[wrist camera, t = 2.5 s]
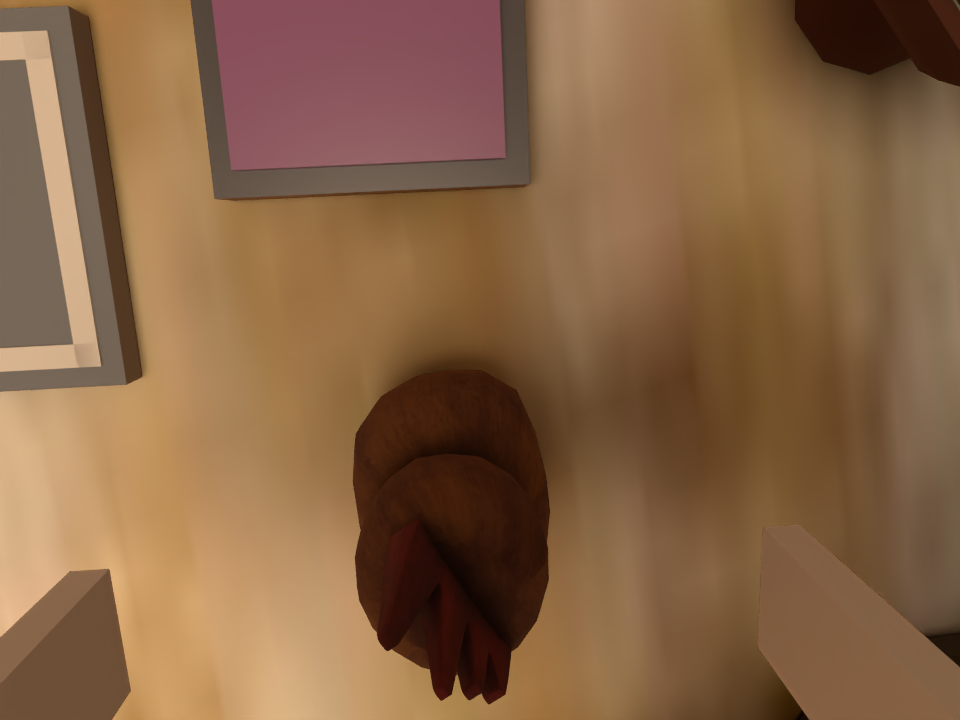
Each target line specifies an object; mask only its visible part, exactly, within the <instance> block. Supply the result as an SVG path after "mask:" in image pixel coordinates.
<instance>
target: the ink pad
mask: <svg viewBox="0 0 960 720" xmlns="http://www.w3.org/2000/svg"><path fill="white" fill-rule="evenodd" d="M191 8H192V16H193V24H194V32H195V41H196V49H197V57H198V65H199V73H200V82H201V90H202V98H203V106H204V115H205V123H206V131H207V139H208V148H209V156H210V164H211V172H212V181H213V189H214V197H215V199H222V200H233V201H238V200H259V199H280V198H301V197H323V196H344V195H365V194H386V193H407V192H429V191H450V190H471V189H492V188H513V187H525V186H527V185H529V184H530V161H529V130H528V99H527V67H526V36H525V4H524V0H191Z"/></svg>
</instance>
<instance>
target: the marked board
mask: <svg viewBox="0 0 960 720" xmlns="http://www.w3.org/2000/svg"><path fill="white" fill-rule="evenodd" d="M141 377H142V373H141V366H140V360H139V353H138V346H137V340H136V333H135V326H134V320H133V313H132V306H131V299H130V293H129V286H128V279H127V273H126V266H125V259H124V253H123V246H122V239H121V233H120V226H119V219H118V213H117V206H116V199H115V193H114V186H113V179H112V172H111V166H110V159H109V152H108V146H107V139H106V132H105V126H104V119H103V112H102V106H101V99H100V92H99V86H98V79H97V72H96V65H95V59H94V52H93V45H92V39H91V32H90V25H89V19H88V17H87V16H85V15H83V14H81V13H80V12H78V11H76V10H74V9H73V8H71V7H69V6H56V7H30V8H5V9H0V392H1V391H19V390H37V389H56V388H74V387H92V386H111V385H127V384H129V383H131V382H133V381H135V380H137V379H139V378H141Z"/></svg>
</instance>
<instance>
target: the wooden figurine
mask: <svg viewBox="0 0 960 720" xmlns="http://www.w3.org/2000/svg"><path fill="white" fill-rule="evenodd" d="M353 486H354V492H355V498H356V505H357V511H358V518H359V524H360V529H361V532H360V536H359V540H358V544H357V550H356V555H355V564H356V578H357V589H358V595H359V601H360V603H361V605H362V607H363V609H364V611H365V613H366V615H367V617H368V619H369V621H370V623H371V625H372V627H373V629H374V630H375V631H376V632H377V637H378V640H379V642H380V644H381V645H382V646H383V647H384V649H385V650H386V651H389V650H391V649H392V650H393V651H395V652H397V653H398V654H400V655H402V656H404V657H405V658H407V659H409V660H410V661H412V662H414V663H415V664H417V665H419V666H420V667H423V668H427V669H430V673H431V679H432V686H433V690H434V692H435V694H436V695H437V697H438V698H439V699H440V700H441V701H442V700H444V699H445V698H447V697H448V696H450V695H452V691H453V686H454V681H455V676H456V675H458V677H459V681H460V685H461V689H462V692H463V694H464V695H465V697H466V698H467V699H468V700H471V699H473V698H474V697H476V696H477V695H479V694H481V693H482V696H483V698H484V699H485V701H486V702H487V703H488V704H491V703H492V702H494V701H496V700H497V699H499V698H501V697H502V696H504V695H505V694H506V689H507V683H508V677H509V668H510V659H511V652H512V651H513V650H515V649H516V648H517V647H518V646H519V645H520V644H521V642H522V641H523V639H524V638H525V637H526V635H527V634H528V632H529V631H530V629H531V628H532V627H533V625H534V624H535V622H536V621H537V618H538V615H539V612H540V609H541V605H542V602H543V598H544V595H545V591H546V587H547V584H548V580H549V574H548V547H547V537H548V526H549V516H550V508H549V499H548V490H547V481H546V474H545V470H544V465H543V461H542V457H541V454H540V450H539V446H538V442H537V438H536V434H535V431H534V429H533V426H532V424H531V422H530V419H529V417H528V415H527V413H526V410H525V408H524V406H523V404H522V401H521V399H520V397H519V395H518V393H517V390H515V389H514V388H512V387H510V386H508V385H506V384H505V383H503V382H501V381H499V380H498V379H496V378H494V377H492V376H490V375H489V374H487V373H485V372H483V371H481V370H445V371H440V372H435V373H430V374H425V375H420V376H416V377H414V378H412V379H411V380H409V381H407V382H405V383H404V384H402V385H400V386H398V387H396V388H395V389H393V390H391V391H389V392H388V393H386V394H384V395H383V396H381V397H380V399H379V400H378V402H377V403H376V404H375V406H374V407H373V409H372V410H371V412H370V413H369V415H368V416H367V417H366V419H365V420H364V422H363V423H362V425H361V426H360V428H359V430H358V431H357V433H356V438H355V449H354V469H353Z"/></svg>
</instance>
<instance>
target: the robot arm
mask: <svg viewBox="0 0 960 720" xmlns="http://www.w3.org/2000/svg"><path fill="white" fill-rule="evenodd" d="M758 648H759V650H760V651H761V652H762V654H763V655H764V657H765V658H766V659H767V661H768V662H769V664H770V665H771V666H772V668H773V669H774V671H775V672H776V674H777V675H778V676H779V678H780V679H781V681H782V682H783V683H784V685H785V686H786V688H787V689H788V690H789V692H790V693H791V695H792V696H793V697H794V699H795V700H796V702H797V703H798V705H799V706H800V707H801V709H802V710H803V712H804V714H803V715H802V717H801V718H800V719H799V720H960V634H954V635H945V636H938V637H932V638H926V637H925V636H924V635H923V634H922V633H921V632H920V631H918V630H917V629H916V628H915V627H914V626H913V625H912V624H911V623H909V622H908V621H907V620H906V619H905V618H904V617H903V616H902V615H901V614H899V613H898V612H897V611H896V610H895V609H894V608H893V607H892V606H890V605H889V604H888V603H887V602H886V601H885V600H884V599H883V598H881V597H880V596H879V595H878V594H877V593H876V592H875V591H874V590H872V589H871V588H870V587H869V586H868V585H867V584H866V583H865V582H864V581H862V580H861V579H860V578H859V577H858V576H857V575H856V574H855V573H853V572H852V571H851V570H850V569H849V568H848V567H847V566H846V565H844V564H843V563H842V562H841V561H840V560H839V559H838V558H837V557H836V556H834V555H833V554H832V553H831V552H830V551H829V550H828V549H827V548H825V547H824V546H823V545H822V544H821V543H820V542H819V541H818V540H816V539H815V538H814V537H813V536H812V535H811V534H810V533H809V532H808V531H806V530H805V529H804V528H803V527H802V526H801V525H800V524H799V525H784V526H768V527H763V533H762V556H761V579H760V601H759V624H758ZM130 691H131V689H130V683H129V677H128V672H127V666H126V661H125V655H124V649H123V644H122V638H121V632H120V627H119V621H118V615H117V610H116V604H115V598H114V593H113V587H112V582H111V576H110V570H109V569H101V570H85V571H70V572H69V573H68V574H67V575H66V576H65V577H64V578H62V579H61V580H60V581H59V582H58V583H57V584H56V585H55V586H54V587H53V588H52V589H51V590H50V591H49V592H48V593H47V594H46V595H45V596H44V597H42V598H41V599H40V600H39V601H38V602H37V603H36V604H35V605H34V606H33V607H32V608H31V609H30V610H29V611H28V612H27V613H26V614H25V615H24V616H23V617H21V618H20V619H19V620H18V621H17V622H16V623H15V624H14V625H13V626H12V627H11V628H10V629H9V630H8V631H7V632H6V633H5V634H4V635H3V636H1V637H0V720H112V719H113V717H114V716H115V714H116V713H117V711H118V709H119V708H120V706H121V705H122V703H123V702H124V700H125V699H126V697H127V696H128V694H129V693H130Z"/></svg>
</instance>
